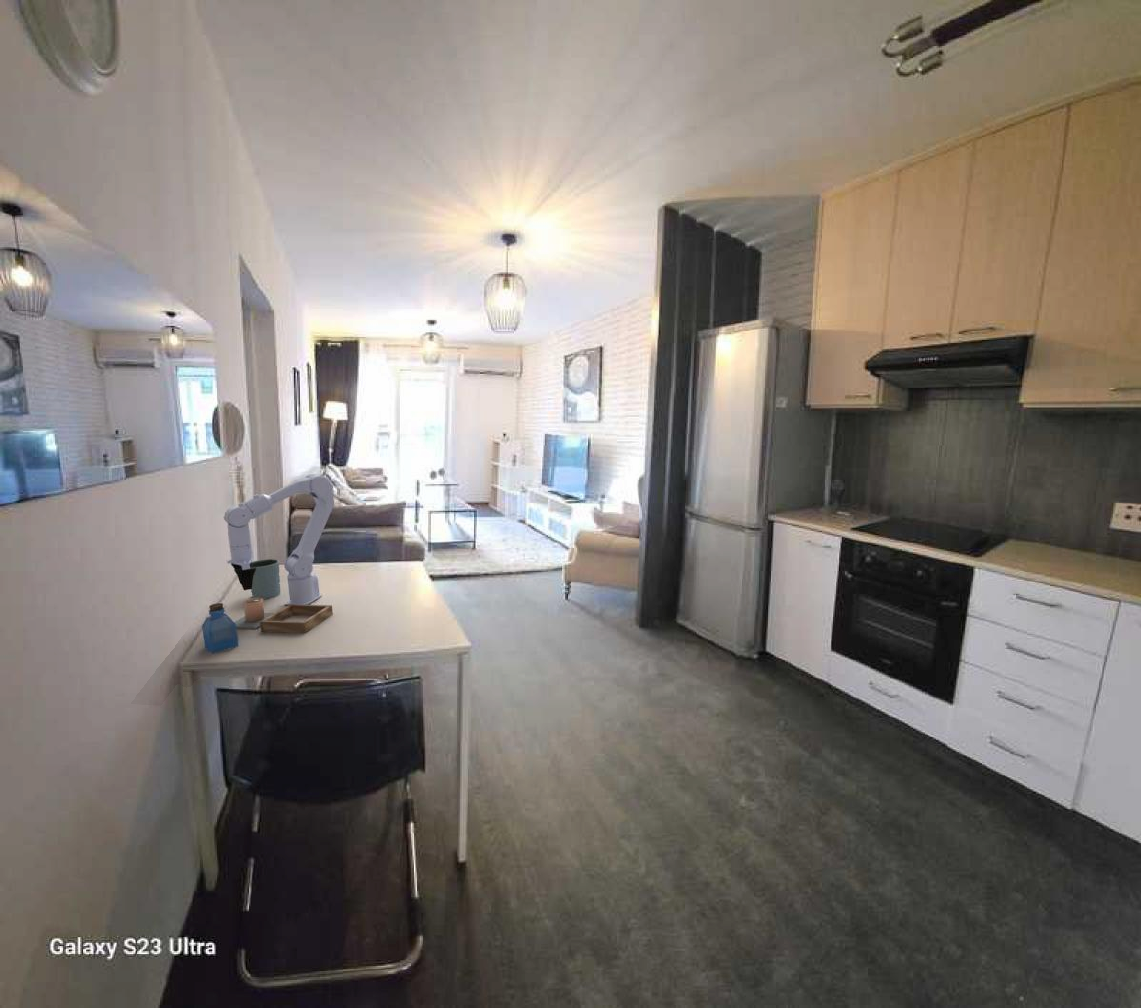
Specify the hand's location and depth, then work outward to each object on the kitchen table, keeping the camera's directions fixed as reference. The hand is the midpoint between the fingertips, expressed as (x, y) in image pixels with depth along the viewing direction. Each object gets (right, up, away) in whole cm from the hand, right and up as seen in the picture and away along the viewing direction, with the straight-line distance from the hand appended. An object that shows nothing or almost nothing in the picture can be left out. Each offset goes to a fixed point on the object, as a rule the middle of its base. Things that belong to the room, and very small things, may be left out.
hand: (246, 586), depth 158 cm
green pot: (-5, -7, +19) cm, 21 cm away
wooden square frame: (+19, -10, -5) cm, 23 cm away
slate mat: (+5, -10, -4) cm, 12 cm away
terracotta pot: (+5, -10, -4) cm, 12 cm away
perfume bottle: (+7, -13, -21) cm, 26 cm away
